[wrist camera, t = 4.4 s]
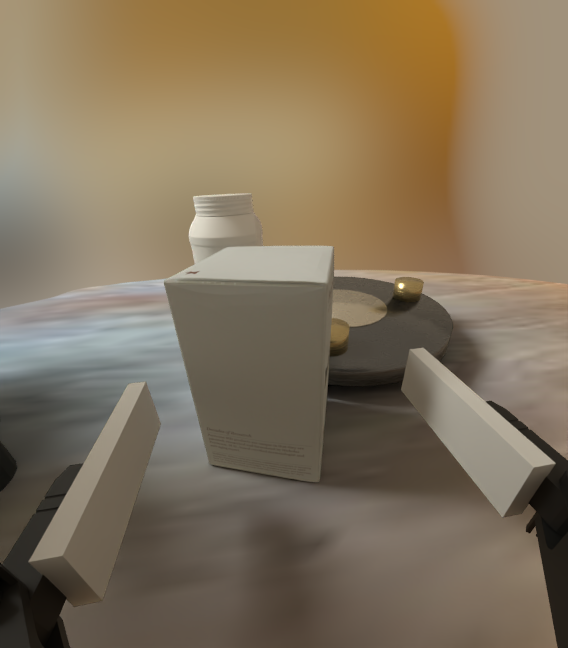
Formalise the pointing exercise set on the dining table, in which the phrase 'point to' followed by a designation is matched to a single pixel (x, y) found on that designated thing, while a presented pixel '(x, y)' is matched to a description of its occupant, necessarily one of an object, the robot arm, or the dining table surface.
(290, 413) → the supplement box
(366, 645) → the dining table surface
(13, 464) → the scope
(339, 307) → the base
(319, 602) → the dining table surface
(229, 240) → the jar
